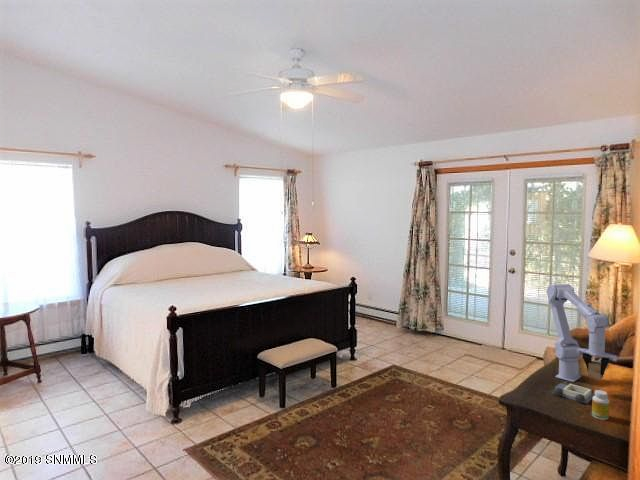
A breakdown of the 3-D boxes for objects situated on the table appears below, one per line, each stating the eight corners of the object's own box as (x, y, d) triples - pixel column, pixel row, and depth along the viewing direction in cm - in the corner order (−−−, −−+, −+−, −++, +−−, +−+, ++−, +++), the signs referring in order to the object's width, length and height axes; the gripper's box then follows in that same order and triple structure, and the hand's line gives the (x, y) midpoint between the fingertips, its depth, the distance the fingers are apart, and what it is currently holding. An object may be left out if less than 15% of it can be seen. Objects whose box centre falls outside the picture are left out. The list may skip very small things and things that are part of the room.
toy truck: (561, 386, 188) (561, 379, 188) (595, 396, 178) (595, 388, 178) (551, 394, 180) (551, 387, 180) (585, 404, 171) (585, 397, 170)
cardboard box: (591, 374, 184) (591, 360, 184) (603, 377, 181) (603, 363, 180) (588, 376, 181) (588, 363, 181) (599, 379, 178) (600, 366, 177)
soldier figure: (613, 368, 212) (605, 366, 204) (604, 373, 214) (596, 371, 207) (602, 354, 216) (594, 352, 209) (594, 359, 219) (585, 357, 212)
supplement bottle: (602, 421, 157) (603, 396, 156) (588, 415, 162) (589, 390, 161) (611, 418, 159) (612, 393, 159) (597, 412, 164) (598, 388, 164)
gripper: (574, 340, 183) (573, 370, 184) (614, 348, 172) (612, 380, 173) (580, 336, 187) (579, 366, 188) (619, 344, 176) (617, 375, 177)
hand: (595, 372), depth 181 cm, fingers closed on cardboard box, 4 cm apart
